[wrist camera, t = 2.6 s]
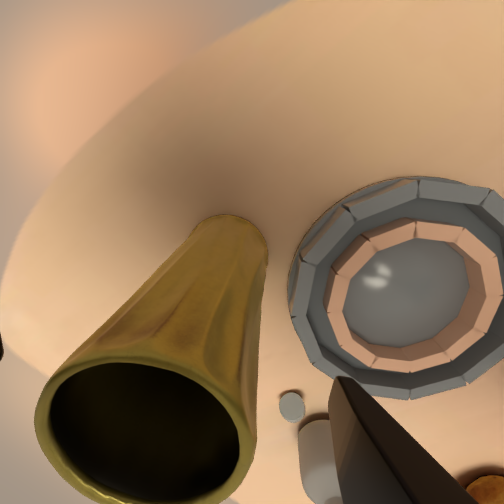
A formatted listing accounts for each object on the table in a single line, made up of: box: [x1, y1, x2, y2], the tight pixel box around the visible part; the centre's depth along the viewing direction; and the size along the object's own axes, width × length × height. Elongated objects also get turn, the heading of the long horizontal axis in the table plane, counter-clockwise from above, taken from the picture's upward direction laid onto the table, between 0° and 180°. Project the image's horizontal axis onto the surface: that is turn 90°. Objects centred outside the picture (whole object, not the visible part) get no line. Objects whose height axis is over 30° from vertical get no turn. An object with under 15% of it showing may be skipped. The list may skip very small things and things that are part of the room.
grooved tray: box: [287, 176, 504, 400], centre depth 19 cm, size 16×16×2 cm
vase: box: [34, 215, 268, 504], centre depth 13 cm, size 6×6×14 cm
